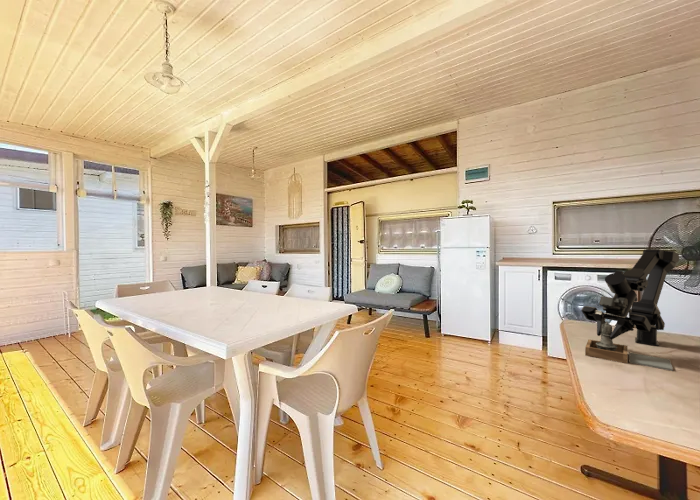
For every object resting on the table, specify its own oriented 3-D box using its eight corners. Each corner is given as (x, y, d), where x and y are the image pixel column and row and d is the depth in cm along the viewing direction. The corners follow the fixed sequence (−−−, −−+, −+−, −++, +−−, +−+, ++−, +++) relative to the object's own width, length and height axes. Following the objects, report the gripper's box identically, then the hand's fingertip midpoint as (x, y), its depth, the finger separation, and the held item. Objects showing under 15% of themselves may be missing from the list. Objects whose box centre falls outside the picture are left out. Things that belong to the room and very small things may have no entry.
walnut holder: (588, 347, 117) (588, 339, 117) (627, 354, 109) (627, 345, 109) (585, 355, 109) (585, 347, 108) (627, 363, 101) (627, 354, 101)
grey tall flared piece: (621, 358, 105) (622, 323, 105) (601, 357, 107) (602, 323, 106) (610, 352, 111) (611, 319, 111) (592, 351, 112) (592, 318, 112)
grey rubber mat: (629, 353, 109) (629, 352, 109) (669, 361, 103) (669, 359, 103) (629, 362, 102) (629, 360, 102) (672, 371, 95) (672, 369, 95)
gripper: (584, 284, 118) (566, 316, 114) (647, 292, 101) (629, 330, 97) (595, 303, 122) (579, 334, 118) (658, 313, 105) (641, 350, 101)
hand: (604, 336), depth 108 cm, fingers closed on grey tall flared piece, 4 cm apart
